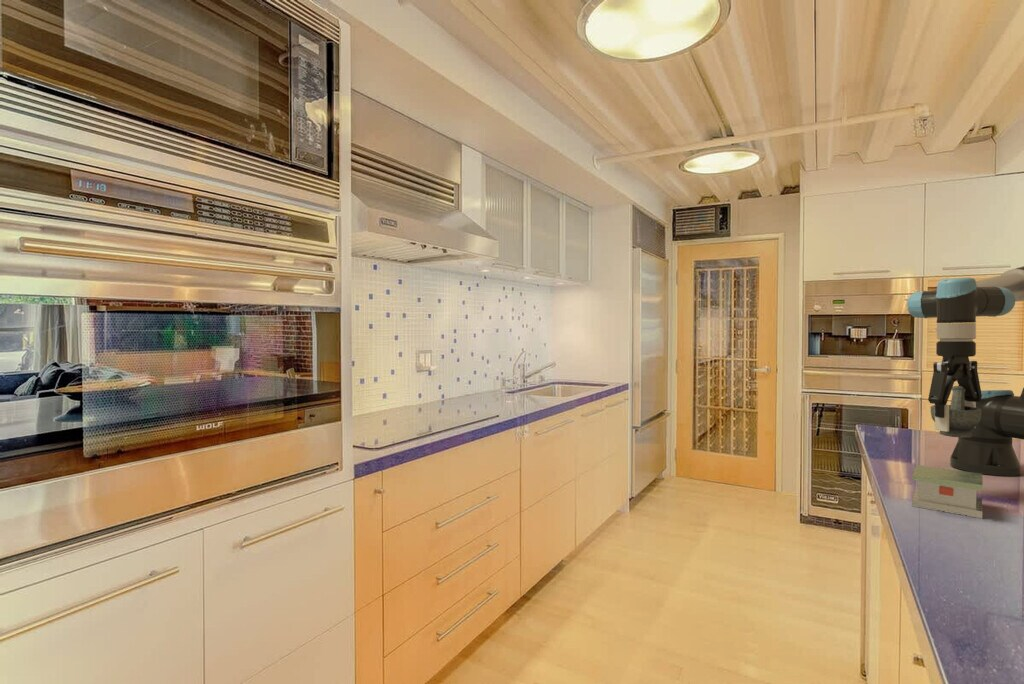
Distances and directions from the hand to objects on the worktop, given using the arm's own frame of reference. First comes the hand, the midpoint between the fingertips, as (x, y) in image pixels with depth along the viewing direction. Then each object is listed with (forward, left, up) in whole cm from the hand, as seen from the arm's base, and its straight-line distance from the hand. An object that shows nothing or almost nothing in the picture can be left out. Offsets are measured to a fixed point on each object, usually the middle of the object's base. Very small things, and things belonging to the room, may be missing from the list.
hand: (955, 428), depth 131 cm
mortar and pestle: (0, 0, -2) cm, 2 cm away
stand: (+14, +6, -16) cm, 22 cm away
